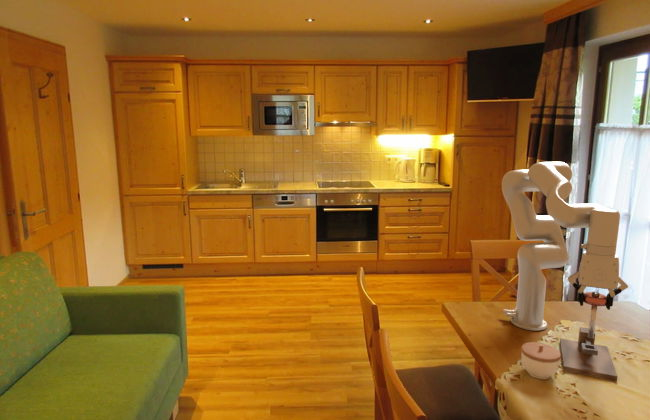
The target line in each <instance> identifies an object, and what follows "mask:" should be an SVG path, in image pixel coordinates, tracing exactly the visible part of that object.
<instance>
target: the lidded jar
mask: <svg viewBox="0 0 650 420" xmlns="http://www.w3.org/2000/svg"><path fill="white" fill-rule="evenodd" d="M520 354H521V363H522V366H523V368H524V369H525V370H526V371H527V374H528V375H529V376H531V377H532V378H535V379H538V380H547V379H550V378H551V377H552V376H554V374H556V373H557V371H558V369H559V366H560V361H561V359H562V355H561V351H560V350H559V349H557V348H556V347H554V346H553V345H550V344H547V343H543V342H539V341H538V342H536V341H531V342H525V343H523V344H522V345H521V353H520Z"/></svg>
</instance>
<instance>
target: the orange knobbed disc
mask: <svg viewBox="0 0 650 420" xmlns="http://www.w3.org/2000/svg"><path fill="white" fill-rule="evenodd" d="M607 301H608V298H607V295H605V294H602V293H600V292H598V291H588V292H584V302H583V303H585V304H587V305H590V306H591V307H590V316H589V325H588V328H589V332H588V337H589V338H594V332H595V328H596V320H597V313H598V312H597V310H598V307H606V305H607Z"/></svg>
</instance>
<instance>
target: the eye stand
mask: <svg viewBox="0 0 650 420" xmlns="http://www.w3.org/2000/svg"><path fill="white" fill-rule="evenodd" d="M578 332H579V333H578V339H577V340H578V341H576V340H572V339H571V340H569V339H566V338H559V344H560V345H559V347H560V353H561V362H562V369H563V371H564V372H569V373H573V374H579V375H583V376H588V377H589V376H590V377H594V378H599V379H604V380H611V381H614V382H617V381H618V377H619V376H618V374H617V371H616V370H617V369H616V368H615V365H614V362H613V359H612V357H611V353H610V351H609V348H608V346H607V345H600V344H595V340H596V339H595V337H596V333H595V331H594V338H589V337H588V332H589V327H583V326H582V327H581V326H579V331H578Z"/></svg>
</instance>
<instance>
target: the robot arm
mask: <svg viewBox="0 0 650 420" xmlns="http://www.w3.org/2000/svg"><path fill="white" fill-rule="evenodd" d="M572 178H573V170H572V169H571V166H570V165H569V164H568V163H565V162H564V161H541V162H540V161H539V162H536V163H534V164H532V165H531V166H530V167H529V168H528V169H526V168H525V169H515V170H510V171H507V172H506V173H505V174H504V175H503V177H502V180H501V191H502V195H503V198H504V200H505V202H506V204H507V206H508V208H509V211H510V215H511V220H512V223H513V227H514V231H515V234H516V236H517V238H518V239H519V240H521V241H526V242H527V241H528V242H530V241H543V242H530V243H525V244H523V245H521V246H520V247H519V248H518V250H517V265H518V281H517V292H516V293H517V294H516V305H515V306H516V307H515V309H507V308H503V310H502V313H503V315H505V316H506V317H508V318H509V317H510V322H511V324H513V325H514V326H515V327H518V328H519V329H523V330H527V331H537V332H538V331H543V330H546V329H547V327H548V323H547V321H546V320H545V319H544V314H545V313H544V311H545V301H546V289H547V279H546V276H545V275H544V273H543V271H542V270H544V269H556V268H557V269H558V268H563V267H565V265H567V262H568V259H569V253H568V248H567V245H566V242H565V238H564V235H563V232H562V228H561V227H563V228H564V229H565V228H566V229H581V228H583V229H588V230H587V240H586V242H585V243H581V244H580V249H584V250H585V251H583V252H582V255H581V258H580V259H581V260H580V262H579V268H578V270H577V271H576V272H574V273H572V274H571V275H569V276H568V277H567V281H568V282H569V283H570V285H572V287H573V288H574V290H576V291H577V302H578V303H579V305H580V307H582V306H584V303H585V302H584V293H585V289H586V288H587V287H588V288H597V289H604V290H605V289H606V290H607V291H608V293H607V294H606V296H607V298H608V301H607V305H606V306H605V307H606V308H605V309H607V310H611V307H613V305H614V299H615V297H616V296H618V295H619V294H620V293H622V292H623V291H625V290H627V289H628V288H629V285H628V284H627V283H626V282H625V281H624V280H623V279H622V278H621V277H620V259H619V258H620V257H619V256H618V255H617V253H616V251H617V245H618V237H619V228H620V227H619V226H620V220H621V213H620V212H619V210H618V209H613V208H607V207H605V206H604V205H601V204H599V203H567V202H566V201H565V200H566V199H567V198H568V197H569V196H570V195H571V193H572V191H573V186H572V183H571V182H570V181H571V180H572ZM525 192H541V193H542V194H543V195H544V196H545V197H546V198H545V207H546V211H547V214H548V215H547V214H546V215H545V214H544V215H538V214H537V213H536V210H535V206H534V204H533V202H532V201H531V199H530V198H529V197H528V196H527V195H526V194H525ZM577 279H578V282H576V280H577Z"/></svg>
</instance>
